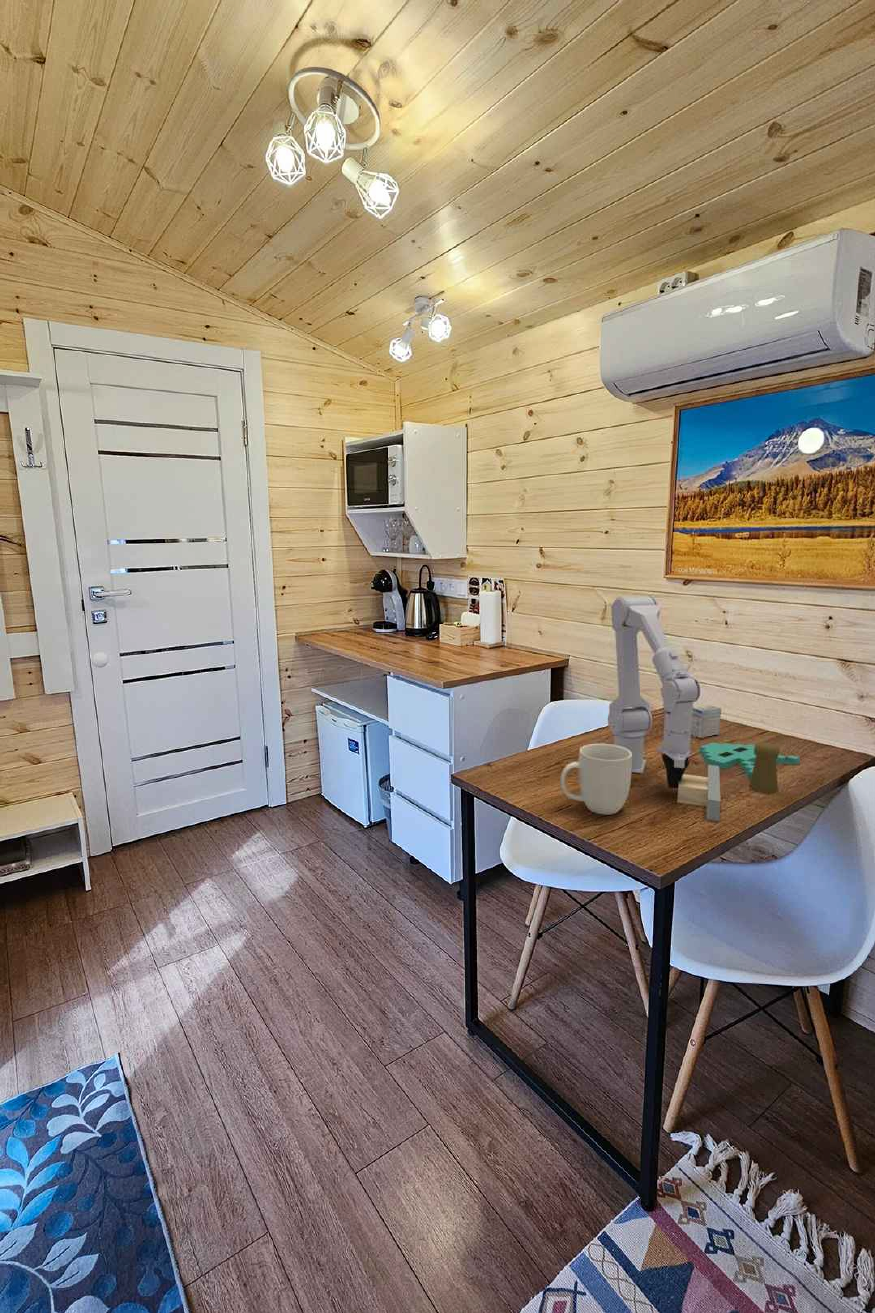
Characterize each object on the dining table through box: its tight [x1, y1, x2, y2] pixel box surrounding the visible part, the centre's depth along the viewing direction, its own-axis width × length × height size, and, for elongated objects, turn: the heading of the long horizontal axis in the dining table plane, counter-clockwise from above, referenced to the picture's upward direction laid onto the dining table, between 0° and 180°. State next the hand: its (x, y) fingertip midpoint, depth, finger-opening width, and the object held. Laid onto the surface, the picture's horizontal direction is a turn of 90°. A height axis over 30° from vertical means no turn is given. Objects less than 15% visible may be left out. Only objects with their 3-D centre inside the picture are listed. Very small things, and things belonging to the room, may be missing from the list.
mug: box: [560, 743, 632, 816], centre depth 134 cm, size 15×11×13 cm
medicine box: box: [691, 704, 722, 737], centre depth 185 cm, size 8×4×9 cm, turn 115°
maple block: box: [677, 773, 708, 808], centre depth 141 cm, size 8×6×4 cm
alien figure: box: [698, 742, 801, 780], centre depth 164 cm, size 20×2×20 cm
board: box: [706, 765, 722, 822], centre depth 139 cm, size 22×2×4 cm, turn 157°
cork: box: [748, 741, 780, 795], centre depth 145 cm, size 6×6×11 cm
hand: (673, 787), depth 142 cm, fingers closed, pressing on maple block
